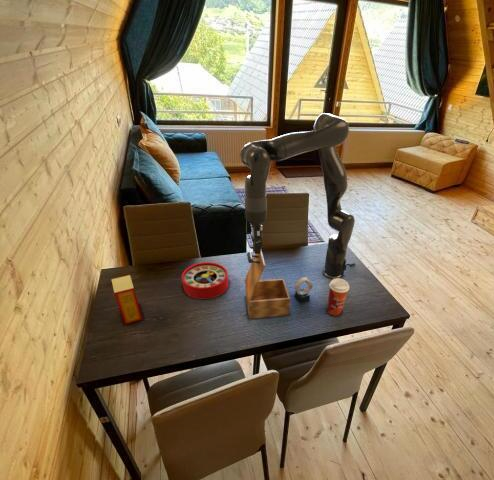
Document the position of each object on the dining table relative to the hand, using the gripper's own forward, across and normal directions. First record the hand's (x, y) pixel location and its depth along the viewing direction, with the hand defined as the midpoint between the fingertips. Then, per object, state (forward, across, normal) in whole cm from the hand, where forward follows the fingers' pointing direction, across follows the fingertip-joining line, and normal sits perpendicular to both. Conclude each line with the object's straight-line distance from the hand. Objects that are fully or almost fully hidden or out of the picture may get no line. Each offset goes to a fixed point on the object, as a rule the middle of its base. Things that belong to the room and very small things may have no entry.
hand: (256, 247), depth 118 cm
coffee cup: (+30, -8, -32) cm, 45 cm away
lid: (+12, -1, +1) cm, 12 cm away
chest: (+29, -1, -4) cm, 30 cm away
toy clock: (+29, +17, +22) cm, 40 cm away
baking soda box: (+29, +1, +50) cm, 58 cm away
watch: (+30, +2, -20) cm, 36 cm away
